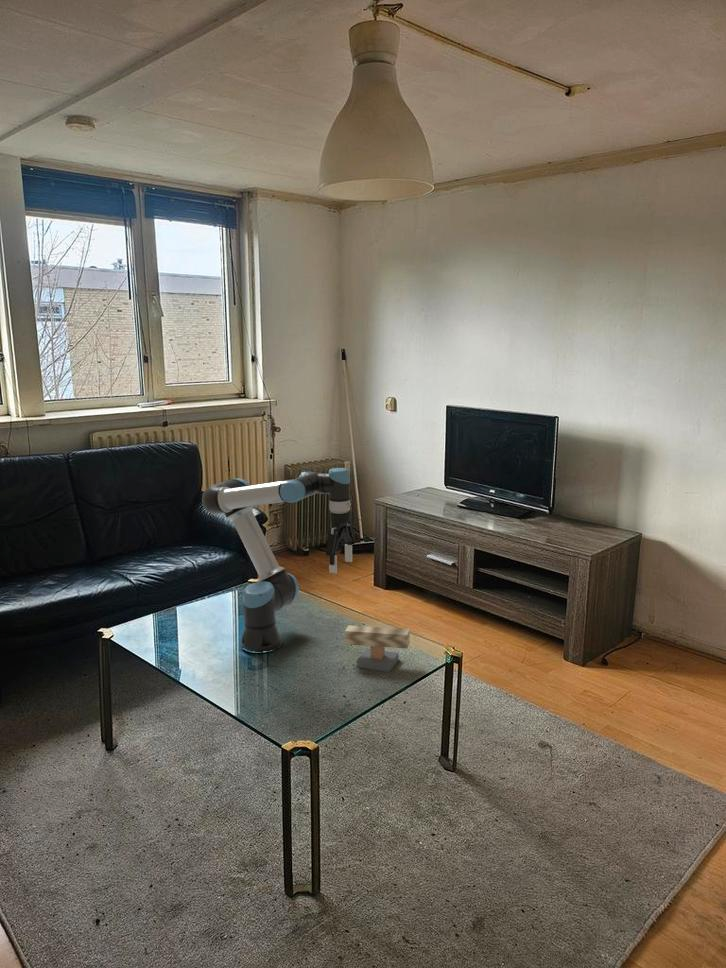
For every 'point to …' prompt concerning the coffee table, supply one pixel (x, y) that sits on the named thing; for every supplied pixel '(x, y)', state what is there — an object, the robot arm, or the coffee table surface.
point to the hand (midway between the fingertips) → (341, 567)
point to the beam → (377, 636)
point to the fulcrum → (377, 659)
